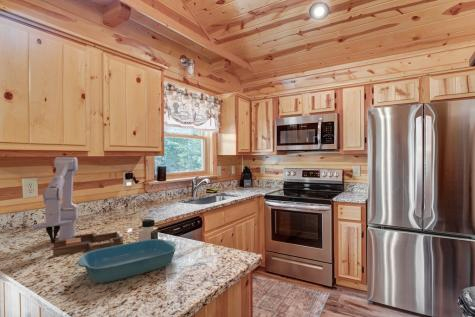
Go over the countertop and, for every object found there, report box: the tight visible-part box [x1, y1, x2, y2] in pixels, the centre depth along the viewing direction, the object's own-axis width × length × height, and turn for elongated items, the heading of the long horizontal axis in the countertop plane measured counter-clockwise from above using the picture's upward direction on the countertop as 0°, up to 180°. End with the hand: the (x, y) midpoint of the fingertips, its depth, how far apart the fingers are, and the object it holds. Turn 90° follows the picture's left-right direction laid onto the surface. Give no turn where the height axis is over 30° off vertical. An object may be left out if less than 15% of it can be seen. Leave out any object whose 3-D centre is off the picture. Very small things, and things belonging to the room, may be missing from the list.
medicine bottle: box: [137, 218, 159, 242], centre depth 133 cm, size 7×7×12 cm
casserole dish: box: [76, 238, 177, 284], centre depth 103 cm, size 37×22×7 cm, turn 129°
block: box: [66, 238, 81, 246], centre depth 125 cm, size 6×6×4 cm
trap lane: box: [52, 230, 124, 256], centre depth 129 cm, size 22×29×4 cm
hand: (53, 242), depth 120 cm, fingers closed
